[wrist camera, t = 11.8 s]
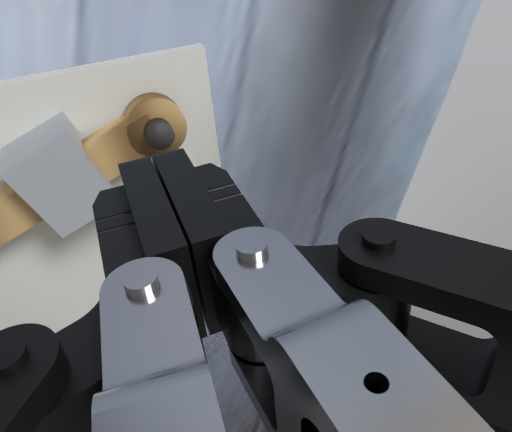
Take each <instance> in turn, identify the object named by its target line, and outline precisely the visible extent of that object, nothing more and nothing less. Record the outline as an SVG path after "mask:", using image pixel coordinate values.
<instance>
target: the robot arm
mask: <svg viewBox="0 0 512 432" xmlns="http://www.w3.org/2000/svg"><path fill="white" fill-rule="evenodd" d="M152 162H153V163H152ZM118 167H119V171H120V175H121V178H122V181H123V185H122V186H118V187H114V188H110V189H106V190H102V191H100V192H99V194H98V195H97V197H96V199H95V201H94V203H93V205H92V208H93V213H94V219H95V224H96V230H97V234H98V241H99V247H100V252H101V258H102V263H103V269H104V274H105V280H104V282H103V283H102V285H101V288H100V292H99V301H98V303H97V304H96V305H95V306H94V307H93V308H92V309H91V310H90V311H89V312H88V313H87V314H85V315H84V316H83V317H82V318H80V319H78V320H77V321H75V322H74V323H72V324H70V325H68V326H67V327H65V328H63V329H62V330H60V331H58V332H56V333H54V332H53V331H52V330H51V329H50V328H48V327H47V326H44V325H41V324H35V323H25V324H19V325H15V326H11V327H8V328H5V329H3V330H0V432H225V428H224V424H223V420H222V416H221V413H220V409H219V405H218V401H217V397H216V393H215V390H214V386H213V382H212V378H211V374H210V371H209V367H208V363H207V360H206V355H205V350H204V346H203V341H202V338H204V337H207V333H206V328H205V324H204V320H205V323H206V325H207V328H208V330H209V333H210V335H212V334H215V333H218V332H220V331H223V333H224V335H225V338H226V340H227V342H228V347H229V352H230V358H231V362H232V365H233V367H234V369H235V371H236V373H237V374H238V376H239V378H240V380H241V382H242V384H243V386H244V388H245V390H246V392H247V393H248V395H249V397H250V399H251V401H252V403H253V405H254V407H255V409H256V410H257V412H258V414H259V416H260V418H261V420H262V422H263V424H264V426H265V428H266V429H267V431H268V432H512V250H508V249H504V248H500V247H496V246H492V245H488V244H484V243H481V242H477V241H473V240H468V239H465V238H461V237H457V236H453V235H449V234H445V233H441V232H437V231H433V230H429V229H425V228H422V227H418V226H414V225H410V224H406V223H402V222H398V221H394V220H390V219H385V218H365V219H361V220H357V221H354V222H352V223H350V224H348V225H347V226H346V227H344V228H343V230H342V231H341V232H340V234H339V237H338V244H335V245H322V246H297V245H293V244H292V243H291V242H290V241H289V239H288V238H287V237H286V236H285V235H283V234H282V233H280V232H279V231H276V230H274V229H271V228H266V227H264V226H263V224H262V223H261V221H260V220H259V218H258V217H257V215H256V214H255V212H254V211H253V209H252V208H251V206H250V205H249V204H248V202H247V201H246V199H245V198H244V196H243V195H241V192H240V190H239V189H238V187H237V186H236V185H235V184H234V182H233V180H232V179H231V177H230V176H229V174H228V173H227V171H226V170H224V169H222V168H220V167H218V166H216V165H214V164H212V163H208V164H204V165H200V166H196V167H194V166H193V164H192V162H191V160H190V159H189V157H188V155H187V154H186V152H185V150H184V149H183V148H181V149H177V150H173V151H169V152H164V153H160V154H156V155H152V161H151V158H150V157H149V156H148V157H144V158H140V159H136V160H132V161H128V162H124V163H120V164H118ZM411 305H414V306H417V307H420V308H423V309H426V310H429V311H432V312H435V313H438V314H441V315H444V316H447V317H450V318H453V319H456V320H459V321H462V322H465V323H468V324H471V325H474V326H477V327H480V328H482V329H484V330H486V331H488V332H489V333H490V334H491V335H492V336H493V338H489V339H480V338H476V337H472V336H470V335H467V334H464V333H461V332H458V331H455V330H452V329H449V328H446V327H443V326H440V325H437V324H435V323H431V322H429V321H426V320H423V319H420V318H417V317H414V316H411V315H410V311H411ZM203 318H204V319H203Z"/></svg>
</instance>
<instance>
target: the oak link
mask: <svg viewBox="0 0 512 432" xmlns="http://www.w3.org/2000/svg"><path fill="white" fill-rule="evenodd" d="M186 134H187V124H186V120H185V118H184V116H183V114H182V113H181V111H180V110H179V108H178V107H177V105H176V104H175V102H174V101H173V100H172V99H170V98H169V97H168V96H166V95H163V94H160V93H154V92H151V93H144V94H141V95H139V96H137V97H136V98H134V99H133V100H132V101H131V102H130V103H129V104H128V105H127V107H126V109H125V111H124V114H123V116H121V117H120V118H118V119H116V120H115V121H113V122H111V123H110V124H108V125H106V126H104V127H103V128H101V129H99V130H98V131H96V132H94V133H93V134H91V135H89V136H87V137H86V138H84V139H82V140H81V141H82V147H83V150H84V152H85V153H86V154H87V155H88V156H89V158H90V159H91V160H92V161H93V163H94V164H95V165H96V166H97V167H98V169H99V170H100V171H101V172H102V174H103V175H104V176H105V177H106V178H107V180H108V181H111V180H112V179H114V178H116V177H117V176H119V175H120V171H119V167H118V164H120V163H124V162H128V161H132V160H136V159H140V158H144V157H148V156H149V157H150V158H152V155H156V154H160V153H164V152H169V151H173V150H177V149H179V148H180V146H181V145H182V144H183V142H184V140H185V137H186ZM43 220H44V219H43V218H42V217H41V216H40V215H39V214H38V213H37V212H36V211H35V210H34V209H33V208H32V207H31V206H29V205H28V204H27V203H26V202H25V201H24V200H23V199H22V198H21V197H20V196H19V195H18V194H17V193H16V192H15V191H14V190H13V189H12V188H11V187H10V186H9V185H8V184H6V185H4V186H2V187H1V188H0V246H1V245H3V244H5V243H6V242H8V241H10V240H11V239H13V238H15V237H16V236H18V235H20V234H21V233H23V232H25V231H26V230H28V229H30V228H32V227H33V226H35V225H37V224H38V223H40V222H42V221H43Z"/></svg>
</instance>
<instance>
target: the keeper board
mask: <svg viewBox="0 0 512 432" xmlns="http://www.w3.org/2000/svg"><path fill="white" fill-rule="evenodd" d="M151 92H154V93H160V94H163V95H166V96H168V97H169V98H170V99H172V100H173V101H174V102H175V104H176V105H177V107H178V108H179V110H180V111H181V113H182V114H183V116H184V118H185V120H186V124H187V134H186V137H185V140H184V142H183V144H182V145H181V146H180V148H179V149H181V148H183V149H184V150H185V152H186V154H187V155H188V157H189V159H190V160H191V162H192V164H193V166H194V167H196V166H200V165H204V164H208V163H212V164H214V165H216V166H218V167H220V168H221V163H220V156H219V149H218V141H217V134H216V127H215V120H214V112H213V105H212V98H211V90H210V83H209V76H208V69H207V61H206V54H205V47H204V46H203V45H202V44H201V43H198V44H193V45H187V46H182V47H177V48H171V49H166V50H160V51H155V52H150V53H144V54H139V55H134V56H128V57H123V58H118V59H112V60H107V61H101V62H96V63H91V64H85V65H80V66H75V67H69V68H64V69H58V70H53V71H48V72H42V73H37V74H32V75H26V76H21V77H16V78H10V79H5V80H0V188H1V187H2V186H4V185H6V184H8V185H9V186H10V187H11V188H12V189H13V190H14V191H15V192H16V193H17V194H18V195H19V196H20V197H21V198H22V199H23V200H24V201H25V202H26V203H27V204H28V205H29V206H31V207H32V208H33V209H34V210H35V211H36V212H37V213H38V214H39V215H40V216H41V217H42V218H43V219H44V220H43V221H42V222H40V223H38V224H37V225H35V226H33V227H32V228H30V229H28V230H26V231H25V232H23V233H21V234H20V235H18V236H16V237H15V238H13V239H11V240H10V241H8V242H6V243H5V244H3V245H1V246H0V330H3V329H5V328H8V327H11V326H15V325H19V324H25V323H35V324H41V325H44V326H47V327H48V328H50V329H51V330H52V331H53V332H54V333H56V332H58V331H60V330H62V329H63V328H65V327H67V326H68V325H70V324H72V323H74V322H75V321H77V320H78V319H80V318H82V317H83V316H84V315H85V314H87V313H88V312H89V311H90V310H91V309H92V308H93V307H94V306H95V305H96V304H97V303H98V301H99V292H100V288H101V285H102V283H103V282H104V280H105V274H104V269H103V263H102V258H101V252H100V247H99V241H98V234H97V230H96V224H95V219H94V213H93V208H92V205H93V203H94V201H95V199H96V197H97V195H98V194H99V192H100V191H102V190H106V189H110V188H114V187H118V186H122V185H123V181H122V178H121V175H119V176H117V177H116V178H114V179H112V180H111V181H108V180H107V178H106V177H105V176H104V175H103V174H102V172H101V171H100V170H99V169H98V167H97V166H96V165H95V164H94V163H93V161H92V160H91V159H90V158H89V156H88V155H87V154H86V153H85V152H84V150H83V147H82V141H81V140H82V139H84V138H86V137H87V136H89V135H91V134H93V133H94V132H96V131H98V130H99V129H101V128H103V127H104V126H106V125H108V124H110V123H111V122H113V121H115V120H116V119H118V118H120V117H121V116H123V114H124V111H125V109H126V107H127V105H128V104H129V103H130V102H131V101H132V100H133V99H134V98H136V97H137V96H139V95H141V94H144V93H151ZM151 161H152V158H151ZM152 163H153V162H152Z"/></svg>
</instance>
